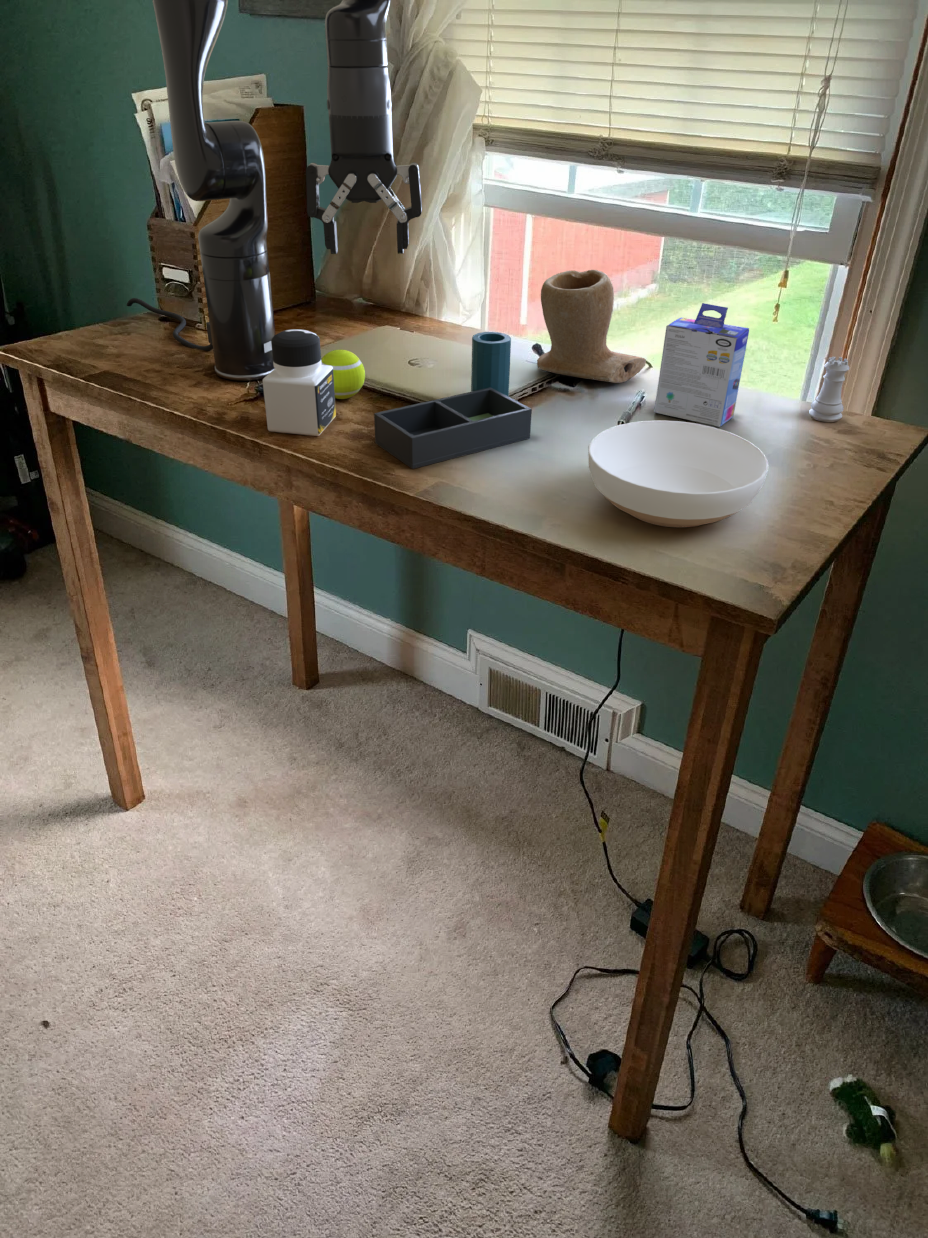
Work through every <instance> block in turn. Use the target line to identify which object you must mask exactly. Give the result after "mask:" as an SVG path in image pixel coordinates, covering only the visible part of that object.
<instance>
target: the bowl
mask: <svg viewBox="0 0 928 1238" xmlns="http://www.w3.org/2000/svg"><path fill="white" fill-rule="evenodd" d="M587 448H588V452H587V454H588V455H587V456H588V469H589V470H588V471H589V473H590V476H591V480H592V482H593V485H594V487H595V488H596V489H597V490H598V491H599V493H600V494H601V495H603V496H604V498H606V499H607V500H608V502H610V503H611V505H613V506H615V507H616V508H618V509H619V510H620V511H622V512H625V513H626V514H629V515H631V516H632V517H634V518H636V519H638V520H640V521H642V522H645V523H648V524H651V525H655V526H661V527H667V528H692V527H698V526H703V525H706V524H712V523H716V522H720V521H722V520H724V519H728V518H729V517H731V516H733V515H735V514H737V513H739V512H740V511H742V510H745V509H746V508H747V507H748V506H750V505H751V504H752V503H753V501H754V500H755V498H756V497H757V496H758V494H759V492H760V491H761V489H762V488H763V486H764V485H765V481H766V478H767V475H768V473H769V466H770V463H769V460H768V458H767V456H766V455H765V453H764V452H763V451H762V450H761V449H760V448H759V447H758V446H756V445H755V444H753V442H751V441H750V440H747V439H745V438H744V437H742V436H740V435H738V434H735V433H733V432H730V431H727V430H724V429H721V428H719V427H715V426H711V425H706V424H702V423H697V422H696V423H695V422H686V421H680V420H679V421H678V420H641V421H640V420H639V421H631V422H628V423H623V424H622V423H621V424H617V425H614V426H612V427H609V428H607V429H604V430H602V431H601V432H599V433H598V434H596V436H594V437H593V438H592V439H591V440H590V443H589V444H588V447H587Z"/></svg>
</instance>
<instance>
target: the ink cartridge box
mask: <svg viewBox="0 0 928 1238" xmlns="http://www.w3.org/2000/svg"><path fill="white" fill-rule="evenodd" d="M728 309H729V307H728V306H720V305H716V304H710V303H705V302H702V303H701V306H700V308H699V311H698V313H697V314H696V315H697V316H696V317H695V319H693V318H687V317H678V318H677V319H675V320H673V321H672V322H670V323H669V324H667V325H666V327H665V333H664V340H663V348H662V353H661V361H660V368H659V376H658V383H657V390H656V395H655V403H654V409H653V412H654V413H656V414H659V415H665V416H668V417H669V416H670V417H673V418H677V419H683V420H687V421H692V422H694V423H695V422H696V423H699V424H703V425H708V426H712V427H716V428H721V427H722V426H723V425H724V424H726V423H728V421H730V420H732V419H733V418H734V416H735V410H736V404H737V400H738V399H737V398H738V394H739V387H740V382H741V377H742V373H743V367H744V362H745V356H746V351H747V345H748V340H749V335H750V334H749V333H750V328H749V327H746V326H745V327H744V326H739V325H732V324H725V320H726V318H727V313H728ZM708 311H714V312H716V313H718V314H720V317H714V316H709V315H704V313H705V312H708Z"/></svg>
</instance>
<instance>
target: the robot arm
mask: <svg viewBox="0 0 928 1238" xmlns="http://www.w3.org/2000/svg"><path fill="white" fill-rule="evenodd" d="M228 3H229V0H152V6H153V10H154V16H155V21H156V26H157V31H158V32H157V33H158V38H159V43H160V50H161V54H162V61H163V68H164V76H165V85H166V93H167V103H168V105H167V106H168V115H169V124H170V135H171V142H172V143H171V144H172V152H173V159H174V164H175V165H174V166H175V169H176V174H177V177H178V180H179V183H180V185H181V186H180V187H182V190H183V192H184V193H185V195H186V196H187V197H188V198H189V199H190V200H192V201H195V202H208V201H209V202H210V201H219V200H228V199H229V202H228V205H227V207H226V209H225V210H224V211H223V212H222V213H221V214H220V215H219V216H218V217H216V218H215V219H214V220H212V221H210V222H209V223H207V224H206V225H203V226H202V227H201V229H199V231H198V235H197V241H198V247H199V249H198V250H199V255H200V261H201V269H202V275H203V276H202V277H203V283H204V290H205V300H206V306H207V307H206V308H207V313H208V320H209V321H207V322H205V325H206V326H205V327H206V332H207V339H208V343H209V344H208V345H199V344H195V343H192V342H191V341H188V340H187V339H186V338H184V337H182V336H181V335H179V333H180V332H181V331H183V329H185V327H186V325H187V321H186V319H185V318H184V317H183V316H182V315H180V314H178V313H175V312H171V311H168V310H163V309H160V308H156V307H154V306H152V305H151V304H149V303H147V302H146V301H144V300H142V299H140V298H138V297H132V298H130V299H128V301H127V302H126V307H132V306H133V304H137V305H140V306H141V307H143V308H144V309H146V310H149V311H150V312H151V313H155V314H158V315H160V316H164V317H169V318H172V319H175V320H177V321H179V322H180V323H179V324H178V325H177V326H176V327H175V328H174V330H173V331H172V337H173V338H174V340H175V341H177V342H178V343H180V344H181V345H183V346H185V347H188V348H191V349H196V350H200V351H204V352H205V351H206V352H210V351H213V352H212V354H213V359H214V372H215V374H216V375H217V376H218V377H220V378H222V379H225V380H231V381H239V382H241V381H242V382H243V381H245V382H246V381H247V382H248V381H256V380H263V379H264V378H265V377H266V376H267V375H268V374H269V373H270V372H271V371H273V370H274V369H275V368H274V364H273V354H272V344H271V339H272V338H273V336H274V335H276V334H277V333H276V325H275V315H274V306H273V305H274V304H273V293H272V283H271V274H270V273H271V272H270V263H269V255H268V254H269V253H268V244H267V236H268V228H269V223H268V220H269V219H268V209H267V208H268V205H267V184H266V182H267V181H266V179H267V178H266V164H265V157H264V151H263V146H262V143H261V140H260V137H259V135H258V133H257V131H256V130H255V128H254V127H253V126H252V125H251V124H250V123H249V122H247V121H244V120H226V121H225V120H224V121H209V122H207V121H206V122H205V115H204V83H205V76H206V73H207V68H208V66H209V65H208V64H209V61H210V58H211V56H212V53H213V52H214V51H213V50H214V48H215V46H216V43H217V41H218V38H219V36H220V33H221V31H222V28H223V25H224V21H225V18H226V16H227V15H226V14H227V11H228ZM390 6H391V0H341V2H340V3H339V4H337V5H336V6H333V7H332V8H330V9H329V10H328V11H327V13H326V15H325V19H324V32H325V34H324V35H325V49H326V50H325V51H326V65H327V79H326V95H327V96H326V98H327V99H326V108H327V112H328V126H329V127H328V128H329V139H330V140H329V141H330V155H331V156H330V157H331V159H330V163H329V165H328V164H327V165H325V164H317V163H316V162H310V163H309V164H308V165H307V166H306V169H305V176H306V179H305V180H306V212H307V216H308V217H310V218H311V219H312V218H314V219H317V220H320V221H321V222H322V225H323V236H324V246H325V248H326V250H330V254H331V255H338V252H339V246H338V245H339V244H338V243H339V242H338V229H337V220H335V216H336V214H337V212H338V210H339V209H340V208H341V206H342V204H343V203H344V201H345V200H347V201H348V202H350V203H351V204H359V203H363V202H366V203H370V204H377V203H378V202H380V201H382V202H383V203H384V204H385V206H386V207H387V208H388V209H389V210H390V211H391V213H392V214H393V215H394V217H395V218H396V219H397V220H396V247H397V250H396V251H397V255H404V252H405V250H408V247H409V244H410V237H409V236H410V235H409V232H410V231H409V222H410V221H411V220H413V219H416V218H419V217H421V215H422V213H423V205H422V204H423V203H422V202H423V201H422V190H421V189H422V188H421V177H420V166H419V163H417V162H411V163H410V164H399V165H397V164H396V162H395V159H394V145H393V143H394V142H393V115H392V90H391V82H390V75H389V67H388V65H389V64H388V41H387V21H388V20H387V19H388V15H389V11H390ZM326 176H329V178H330V180H332V182H333V183H334V185H335V186H336V188H337V189H338V190H337V192H336V193H335V194H334V196H333V198H332V199H331V201H330V203H329V204H328V206H327V207H326V208H325V207H322V206H320V185H322V184H323V182H324V181H325V177H326ZM397 176H400V177H401V178H402V181H403V183H404V184H405V185H409V195H410V206H408V207H405V206H404V205H403V204H402V203H401V201H400V199H399V197H398V196H397V195H396V193H395V192H394V190H393V189H392V188H391V187H392V185H393V183H394V181H395V180H396V178H397Z"/></svg>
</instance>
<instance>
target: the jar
mask: <svg viewBox="0 0 928 1238" xmlns="http://www.w3.org/2000/svg"><path fill="white" fill-rule="evenodd" d="M511 350H512V337H511V336H510V335H509V334H507V333H503V332H500V331H499V332H498V331H481V332H477V333H475V334H473V335H472V337H471V372H470V373H471V374H470V375H471V377H470V384H471V385H470V392H472V391H476V390H481V389H485V388H490V387H491V388H493V389H495V390H497V391H498V392H500V393H502V394H504V395H506V396H508V397H510V396H509V395H510V375H511V374H510V372H511Z"/></svg>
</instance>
